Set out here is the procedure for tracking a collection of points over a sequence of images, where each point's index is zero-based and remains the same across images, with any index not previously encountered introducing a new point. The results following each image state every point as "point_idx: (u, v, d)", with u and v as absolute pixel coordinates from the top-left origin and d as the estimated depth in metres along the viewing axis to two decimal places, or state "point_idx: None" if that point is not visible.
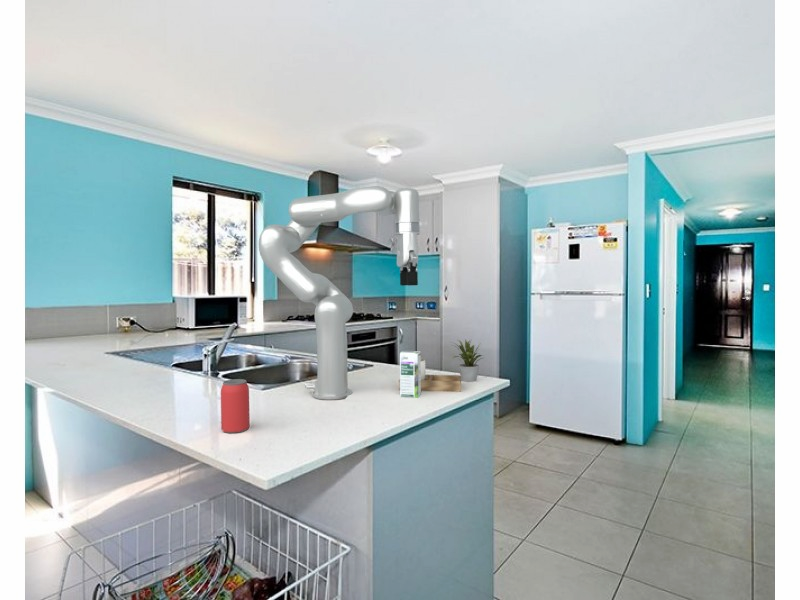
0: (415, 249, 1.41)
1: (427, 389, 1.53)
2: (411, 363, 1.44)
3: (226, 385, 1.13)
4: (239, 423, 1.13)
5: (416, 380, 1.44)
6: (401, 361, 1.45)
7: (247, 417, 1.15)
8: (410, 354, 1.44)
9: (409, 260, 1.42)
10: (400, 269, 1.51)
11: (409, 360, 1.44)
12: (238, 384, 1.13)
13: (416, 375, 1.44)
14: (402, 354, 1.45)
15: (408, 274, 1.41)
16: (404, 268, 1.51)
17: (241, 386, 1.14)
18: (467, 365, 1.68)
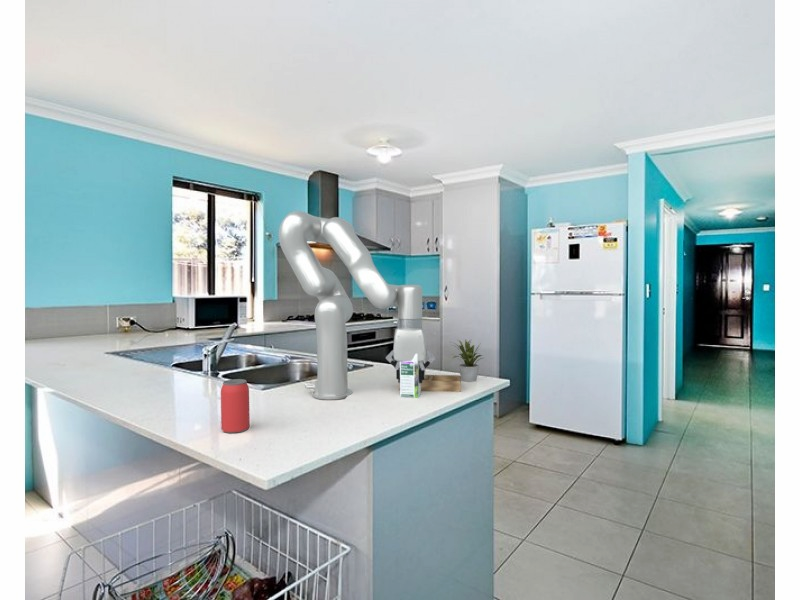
0: None
1: (427, 389, 1.53)
2: (411, 363, 1.44)
3: (226, 385, 1.13)
4: (239, 423, 1.13)
5: (416, 380, 1.44)
6: (401, 361, 1.45)
7: (247, 417, 1.15)
8: None
9: None
10: (397, 366, 1.46)
11: None
12: (238, 384, 1.13)
13: (416, 375, 1.44)
14: None
15: (421, 372, 1.45)
16: None
17: (241, 386, 1.14)
18: (467, 365, 1.68)
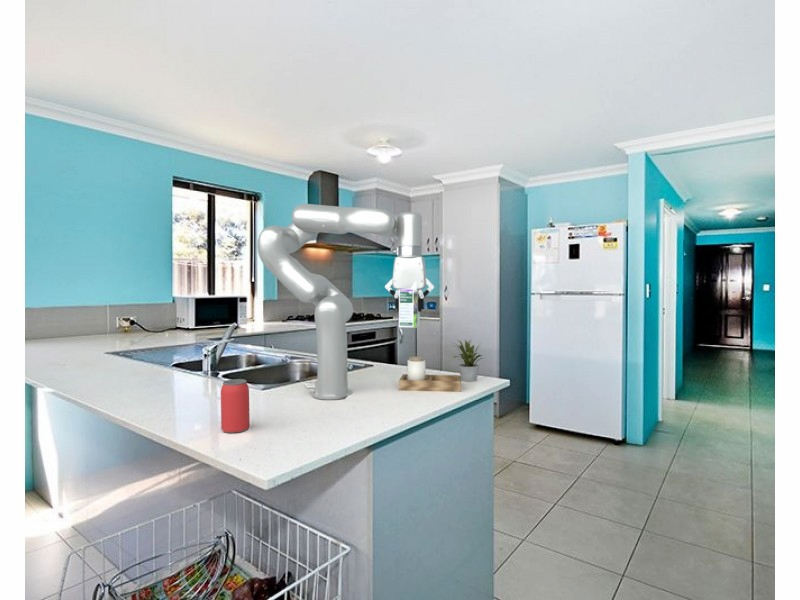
0: None
1: (427, 389, 1.53)
2: (410, 290, 1.43)
3: (226, 385, 1.13)
4: (239, 423, 1.13)
5: (415, 308, 1.43)
6: (400, 289, 1.44)
7: (247, 417, 1.15)
8: None
9: None
10: (396, 294, 1.45)
11: None
12: (238, 384, 1.13)
13: (415, 303, 1.43)
14: None
15: (420, 301, 1.45)
16: None
17: (241, 386, 1.14)
18: (467, 365, 1.68)
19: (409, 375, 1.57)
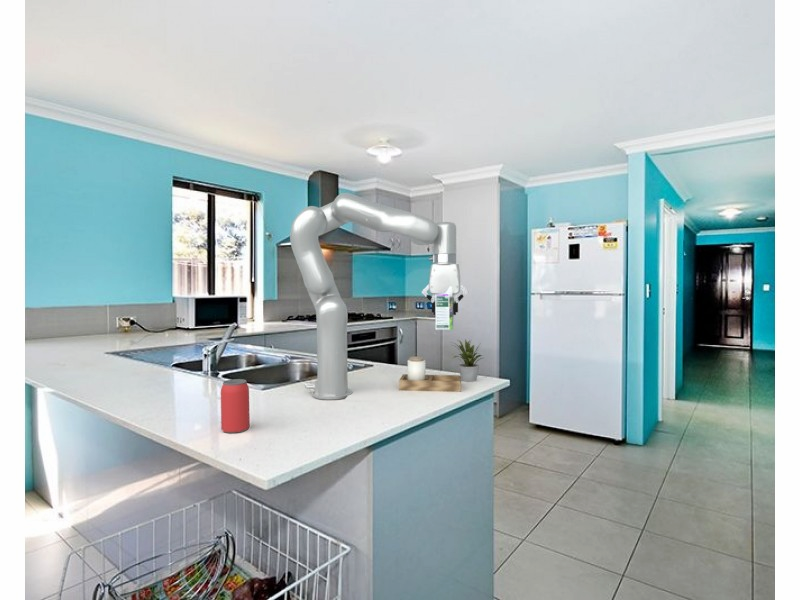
0: None
1: (427, 389, 1.53)
2: (446, 295, 1.53)
3: (226, 385, 1.13)
4: (239, 423, 1.13)
5: (451, 311, 1.53)
6: (436, 294, 1.54)
7: (247, 417, 1.15)
8: None
9: None
10: (432, 299, 1.55)
11: (444, 293, 1.53)
12: (238, 384, 1.13)
13: (451, 307, 1.53)
14: None
15: (455, 305, 1.55)
16: None
17: (241, 386, 1.14)
18: (467, 365, 1.68)
19: (409, 375, 1.57)
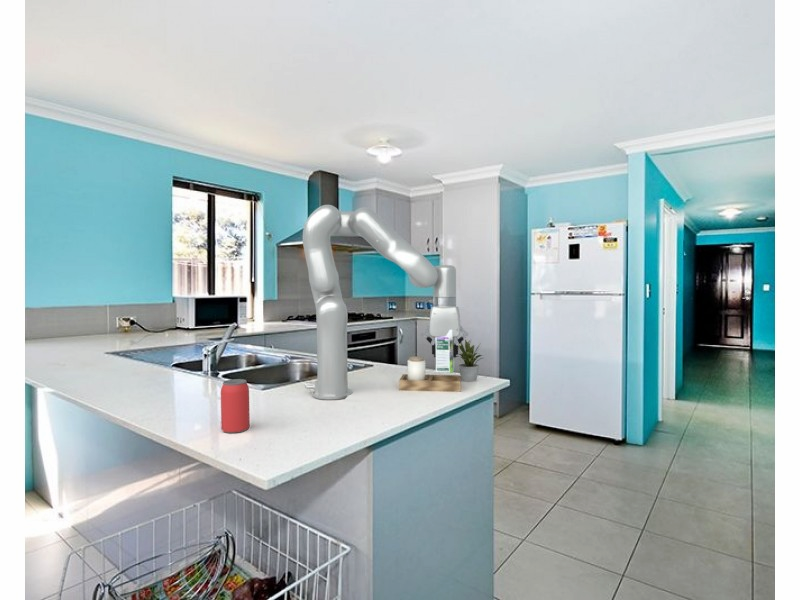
0: None
1: (427, 389, 1.53)
2: (446, 338, 1.54)
3: (226, 385, 1.13)
4: (239, 423, 1.13)
5: (451, 354, 1.54)
6: (437, 337, 1.55)
7: (247, 417, 1.15)
8: None
9: None
10: (432, 341, 1.56)
11: (444, 336, 1.54)
12: (238, 384, 1.13)
13: (451, 350, 1.53)
14: None
15: (455, 347, 1.55)
16: None
17: (241, 386, 1.14)
18: (467, 365, 1.68)
19: (409, 375, 1.57)
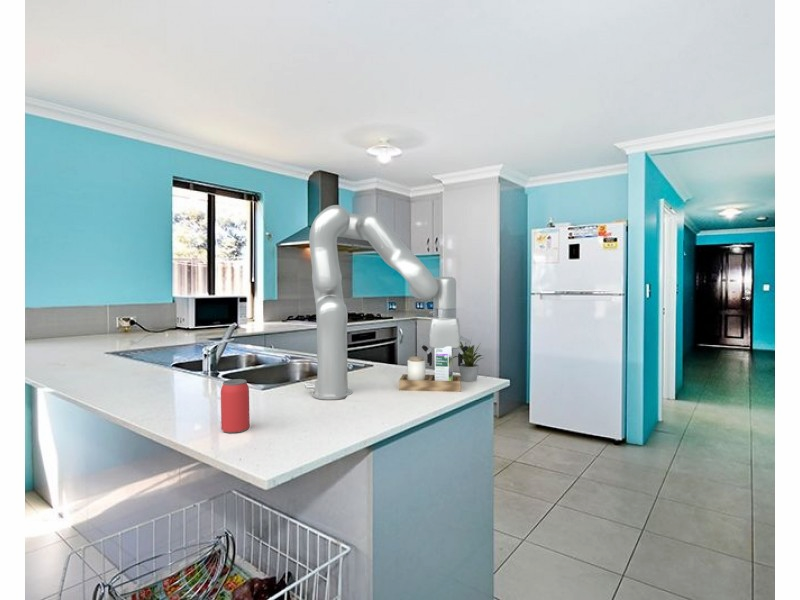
0: None
1: (427, 389, 1.53)
2: (445, 355, 1.54)
3: (226, 385, 1.13)
4: (239, 423, 1.13)
5: (450, 371, 1.54)
6: (436, 353, 1.55)
7: (247, 417, 1.15)
8: (444, 347, 1.54)
9: None
10: (428, 350, 1.56)
11: (443, 352, 1.54)
12: (238, 384, 1.13)
13: (450, 367, 1.54)
14: None
15: (460, 356, 1.55)
16: (428, 349, 1.58)
17: (241, 386, 1.14)
18: (467, 365, 1.68)
19: (409, 375, 1.57)
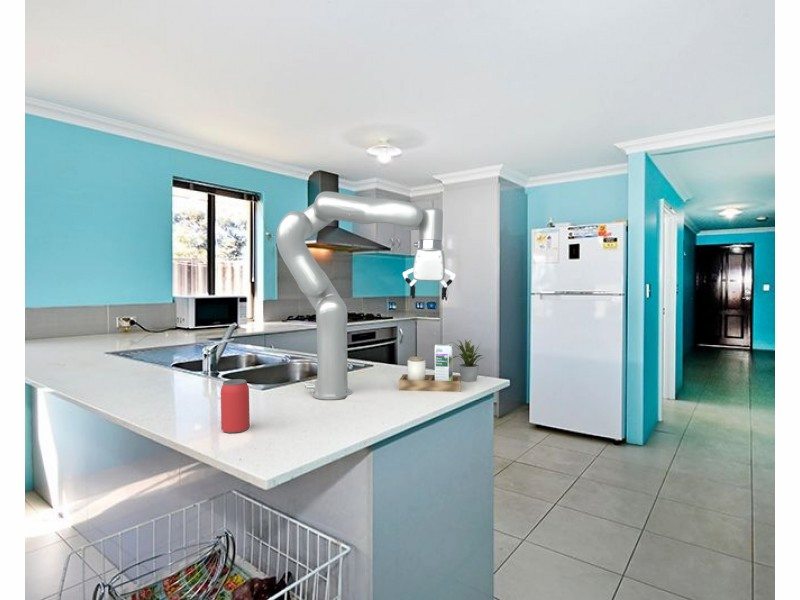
0: None
1: (427, 389, 1.53)
2: (446, 355, 1.54)
3: (226, 385, 1.13)
4: (239, 423, 1.13)
5: (450, 371, 1.54)
6: (436, 353, 1.55)
7: (247, 417, 1.15)
8: (444, 347, 1.54)
9: None
10: (412, 282, 1.53)
11: (443, 352, 1.54)
12: (238, 384, 1.13)
13: (450, 367, 1.54)
14: (437, 347, 1.54)
15: (444, 289, 1.52)
16: None
17: (241, 386, 1.14)
18: (467, 365, 1.68)
19: (409, 375, 1.57)
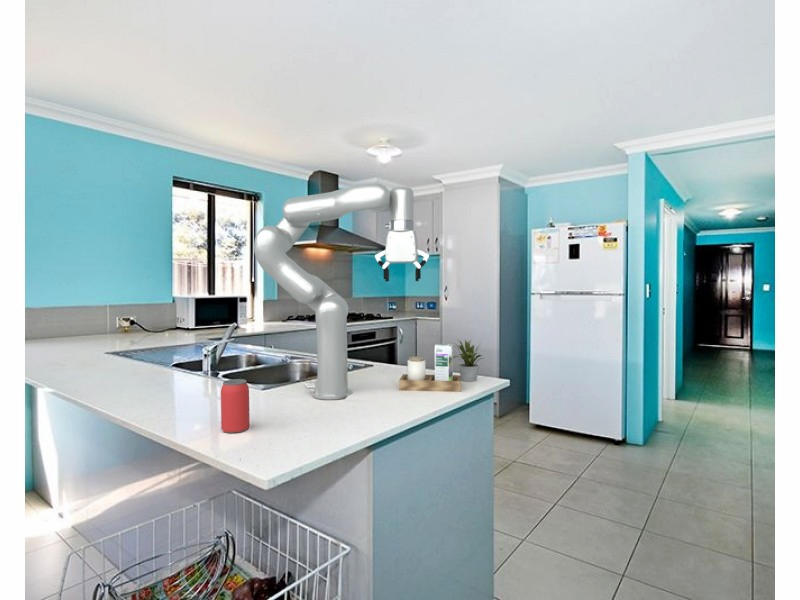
0: None
1: (427, 389, 1.53)
2: (446, 355, 1.54)
3: (226, 385, 1.13)
4: (239, 423, 1.13)
5: (450, 371, 1.54)
6: (436, 353, 1.55)
7: (247, 417, 1.15)
8: (444, 347, 1.54)
9: None
10: (384, 265, 1.50)
11: (443, 352, 1.54)
12: (238, 384, 1.13)
13: (450, 367, 1.54)
14: (437, 347, 1.54)
15: (417, 270, 1.48)
16: None
17: (241, 386, 1.14)
18: (467, 365, 1.68)
19: (409, 375, 1.57)
